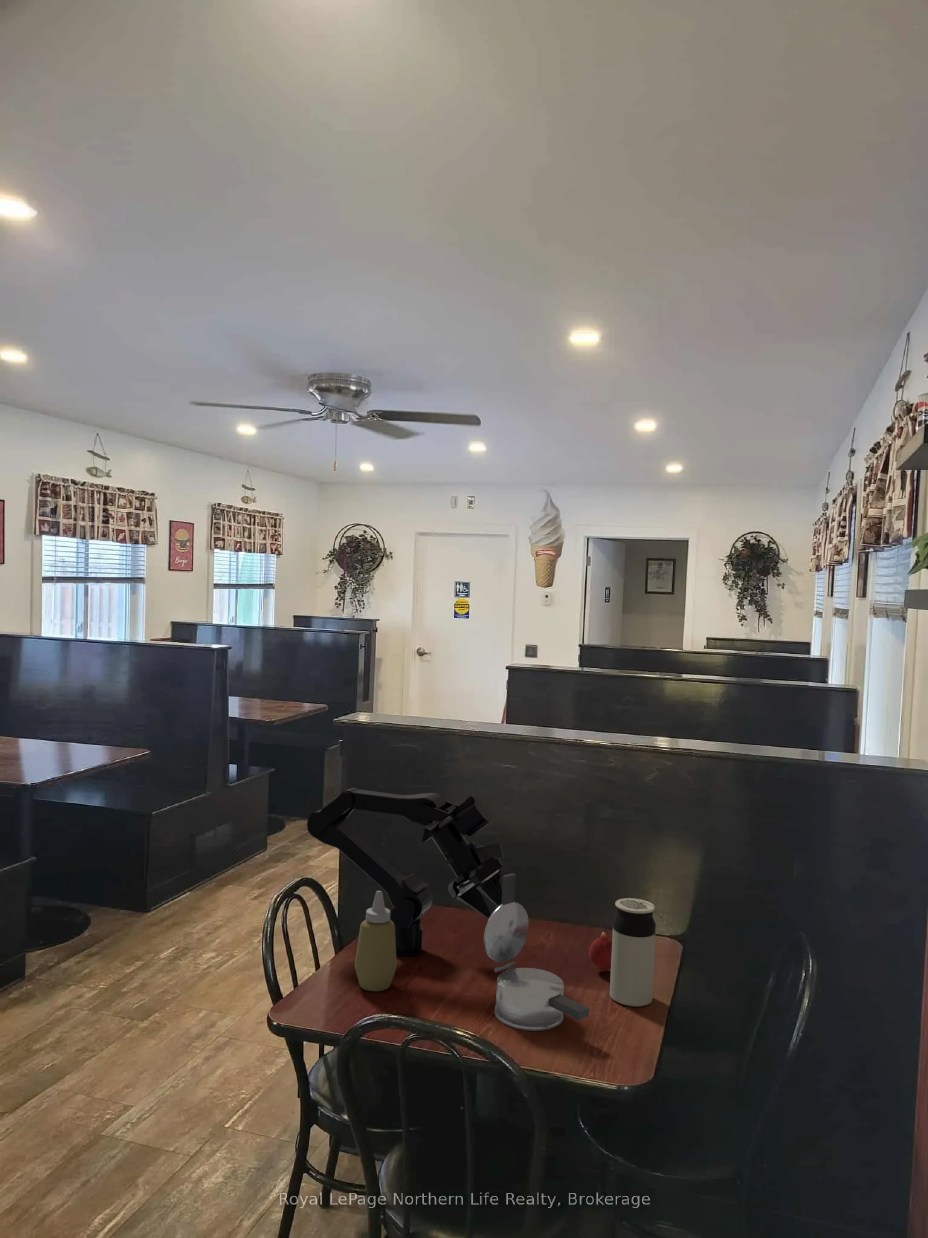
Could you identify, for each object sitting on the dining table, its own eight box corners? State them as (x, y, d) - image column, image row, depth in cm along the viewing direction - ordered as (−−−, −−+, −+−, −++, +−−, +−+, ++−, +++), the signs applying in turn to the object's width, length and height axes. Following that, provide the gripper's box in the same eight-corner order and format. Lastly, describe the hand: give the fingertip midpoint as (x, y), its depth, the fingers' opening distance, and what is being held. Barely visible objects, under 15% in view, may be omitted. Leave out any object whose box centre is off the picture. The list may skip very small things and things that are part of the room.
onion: (622, 972, 174) (624, 933, 174) (606, 980, 170) (608, 940, 170) (598, 964, 178) (600, 925, 178) (582, 971, 174) (584, 932, 174)
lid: (485, 977, 155) (482, 975, 155) (526, 963, 162) (523, 961, 163) (489, 880, 155) (486, 879, 155) (531, 870, 162) (528, 869, 163)
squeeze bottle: (402, 981, 165) (406, 889, 165) (385, 998, 158) (389, 901, 158) (364, 974, 168) (369, 883, 168) (346, 990, 160) (350, 894, 160)
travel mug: (625, 1010, 157) (629, 913, 157) (601, 992, 165) (606, 899, 165) (660, 1004, 160) (665, 909, 160) (635, 987, 168) (640, 896, 168)
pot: (480, 1011, 154) (481, 978, 154) (527, 993, 162) (529, 962, 162) (558, 1053, 140) (559, 1017, 140) (605, 1032, 149) (607, 997, 149)
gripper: (499, 816, 174) (543, 883, 170) (469, 838, 189) (509, 899, 186) (457, 846, 168) (502, 915, 165) (430, 865, 184) (470, 928, 180)
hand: (497, 913), depth 174 cm, fingers open, 9 cm apart
